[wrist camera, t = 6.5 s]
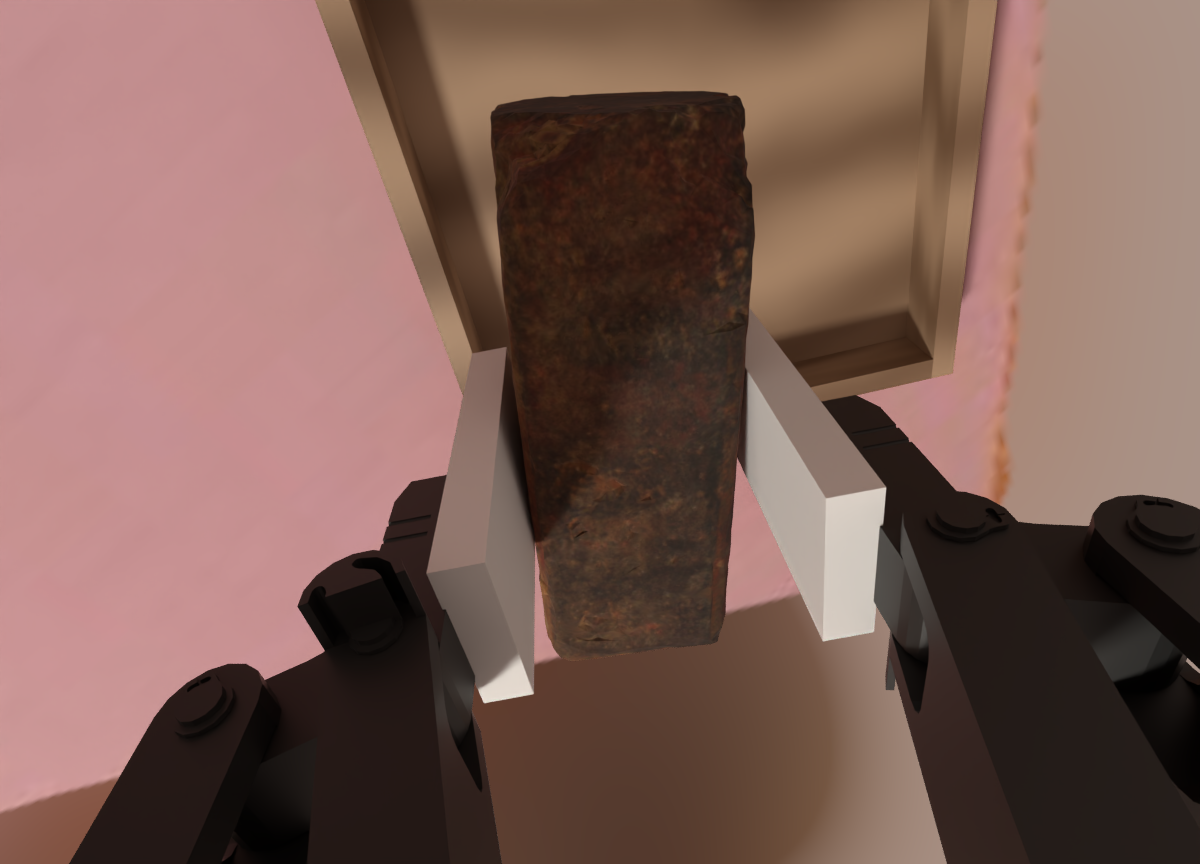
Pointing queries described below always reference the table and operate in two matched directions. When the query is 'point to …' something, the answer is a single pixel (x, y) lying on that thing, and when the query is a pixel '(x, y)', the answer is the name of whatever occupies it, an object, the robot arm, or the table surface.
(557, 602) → the brick
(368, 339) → the table surface
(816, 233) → the tray
